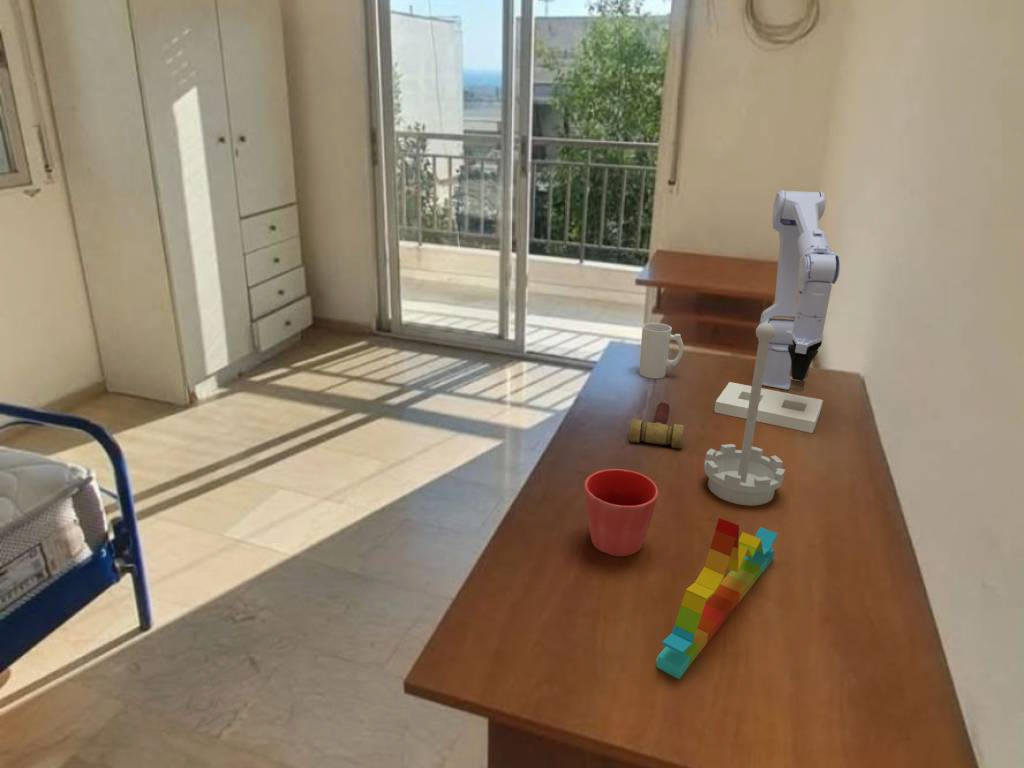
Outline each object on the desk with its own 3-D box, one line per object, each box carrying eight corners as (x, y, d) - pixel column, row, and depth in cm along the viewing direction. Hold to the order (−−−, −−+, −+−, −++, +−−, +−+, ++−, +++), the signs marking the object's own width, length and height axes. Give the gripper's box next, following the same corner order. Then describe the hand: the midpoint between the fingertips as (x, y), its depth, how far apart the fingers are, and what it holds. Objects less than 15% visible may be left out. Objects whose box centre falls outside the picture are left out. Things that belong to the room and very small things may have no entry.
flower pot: (597, 568, 104) (601, 510, 100) (571, 526, 113) (574, 472, 110) (664, 558, 106) (671, 500, 103) (633, 518, 116) (638, 464, 112)
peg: (789, 384, 154) (794, 349, 151) (807, 387, 152) (812, 351, 149) (786, 390, 151) (791, 353, 148) (804, 393, 149) (809, 356, 146)
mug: (635, 376, 173) (640, 329, 169) (641, 367, 179) (645, 321, 175) (677, 383, 170) (683, 334, 166) (682, 373, 176) (687, 326, 172)
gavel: (642, 390, 158) (689, 395, 156) (640, 409, 160) (686, 415, 157) (630, 423, 139) (683, 430, 136) (628, 445, 140) (680, 452, 138)
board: (728, 392, 166) (729, 381, 165) (820, 410, 157) (822, 400, 156) (714, 412, 155) (715, 401, 154) (812, 433, 146) (815, 422, 145)
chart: (751, 552, 108) (766, 464, 103) (772, 560, 107) (789, 471, 101) (654, 668, 86) (666, 563, 81) (678, 681, 84) (693, 575, 79)
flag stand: (785, 513, 118) (818, 339, 107) (703, 503, 121) (727, 332, 109) (774, 474, 130) (803, 314, 119) (700, 466, 132) (721, 308, 121)
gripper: (795, 302, 153) (785, 362, 158) (784, 319, 141) (773, 383, 146) (831, 307, 150) (819, 368, 155) (822, 325, 138) (810, 390, 143)
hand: (799, 376), depth 150 cm, fingers closed on peg, 4 cm apart
